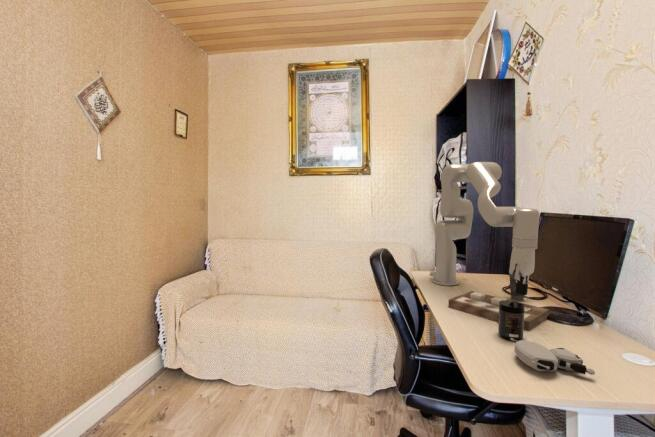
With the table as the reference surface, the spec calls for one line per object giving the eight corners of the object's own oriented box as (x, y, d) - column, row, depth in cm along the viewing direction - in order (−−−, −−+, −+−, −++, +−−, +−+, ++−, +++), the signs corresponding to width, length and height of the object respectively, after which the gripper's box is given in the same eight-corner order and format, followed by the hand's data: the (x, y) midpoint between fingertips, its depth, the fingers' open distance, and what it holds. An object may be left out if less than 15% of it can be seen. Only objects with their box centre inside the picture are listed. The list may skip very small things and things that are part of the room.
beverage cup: (521, 297, 133) (523, 251, 131) (531, 302, 125) (533, 254, 124) (504, 296, 133) (505, 250, 132) (512, 302, 126) (514, 253, 125)
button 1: (470, 300, 123) (470, 293, 123) (475, 298, 125) (475, 291, 125) (480, 302, 120) (480, 296, 119) (485, 300, 122) (485, 294, 122)
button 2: (513, 314, 110) (513, 308, 110) (518, 312, 113) (518, 305, 112) (526, 318, 107) (526, 311, 107) (530, 315, 110) (530, 308, 109)
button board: (448, 307, 121) (448, 298, 120) (471, 297, 132) (471, 290, 131) (529, 331, 98) (529, 321, 98) (548, 317, 109) (548, 308, 109)
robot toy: (566, 359, 83) (506, 351, 86) (568, 343, 83) (508, 335, 85) (597, 387, 71) (527, 376, 73) (600, 368, 71) (529, 358, 73)
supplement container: (517, 332, 97) (518, 300, 97) (527, 342, 91) (529, 308, 90) (494, 331, 98) (495, 299, 98) (503, 341, 92) (504, 307, 91)
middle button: (490, 305, 116) (491, 299, 116) (495, 303, 119) (495, 296, 119) (501, 308, 113) (502, 301, 113) (506, 306, 116) (506, 299, 116)
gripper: (521, 239, 116) (518, 287, 118) (503, 244, 107) (501, 295, 108) (544, 242, 110) (541, 292, 112) (528, 247, 101) (524, 301, 102)
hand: (521, 293), depth 110 cm, fingers closed
